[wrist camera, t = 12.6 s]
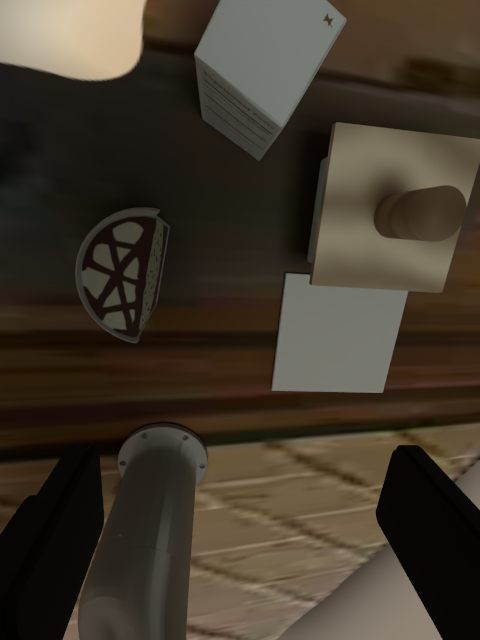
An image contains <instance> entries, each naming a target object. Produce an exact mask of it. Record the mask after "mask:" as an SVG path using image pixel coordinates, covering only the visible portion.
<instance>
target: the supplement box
mask: <svg viewBox="0 0 480 640" xmlns="http://www.w3.org/2000/svg"><path fill="white" fill-rule="evenodd" d="M345 23H346V18H345V17H344V16H343V15H342V14H340V13H339V12H338V11H337V10H336V9H335V8H334V7H333V6H332V5H331V4H330V3H329V2H328V1H327V0H220V1H219V3H218V5H217V8H216V10H215V12H214V14H213V16H212V18H211V20H210V22H209V24H208V26H207V28H206V30H205V32H204V34H203V36H202V38H201V40H200V43H199V45H198V47H197V49H196V51H195V53H194V56H195V63H196V72H197V81H198V89H199V98H200V106H201V114H202V119H203V120H204V121H205V122H207V123H208V124H210V125H211V126H212V127H214V128H215V129H216V130H218V131H219V132H220V133H222V134H223V135H225V136H226V137H227V138H228V139H230V140H231V141H233V142H234V143H235V144H237V145H238V146H239V147H241V148H242V149H243V150H245V151H246V152H247V153H249V154H250V155H251V156H253V157H254V158H255V159H257V160H258V161H260V160H261V158H262V157H263V156H264V154H265V153H266V151H267V150H268V149H269V147H270V146H271V145H272V143H273V142H274V141H275V139H276V138H277V137H278V135H279V134H280V133H281V131H282V129H283V128H284V126H285V125H286V123H287V121H288V120H289V118H290V116H291V115H292V113H293V112H294V110H295V108H296V107H297V105H298V103H299V102H300V100H301V98H302V96H303V95H304V93H305V91H306V90H307V88H308V86H309V85H310V83H311V81H312V80H313V78H314V76H315V74H316V73H317V71H318V69H319V67H320V66H321V64H322V62H323V61H324V59H325V57H326V55H327V54H328V52H329V50H330V49H331V47H332V45H333V43H334V42H335V40H336V38H337V37H338V35H339V33H340V32H341V30H342V28H343V27H344V25H345Z"/></svg>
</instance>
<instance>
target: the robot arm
mask: <svg viewBox="0 0 480 640" xmlns="http://www.w3.org/2000/svg"><path fill="white" fill-rule="evenodd" d="M117 464H118V470H119V474H120V476H121V478H122V480H121V483H120V486H119V489H118V491H117V494H116V497H115V500H114V503H113V505H112V508H111V511H110V514H109V517H108V519H107V522H106V525H105V528H104V531H103V533H102V536H101V539H100V542H99V545H98V547H97V550H96V553H95V556H94V559H93V561H92V564H91V567H90V570H89V573H88V575H87V578H86V581H85V584H84V587H83V590H82V593H81V597H80V602H79V608H78V631H79V639H80V640H186V628H187V608H188V591H189V576H190V563H191V547H192V532H193V516H194V501H195V487H196V486H197V485H198V484H199V483H200V482H201V481H202V479H203V478H204V476H205V474H206V471H207V466H208V454H207V449H206V447H205V445H204V443H203V442H202V440H201V439H200V438H199V437H198V436H197V435H196V434H195V433H194V432H192V431H190V430H189V429H187V428H184V427H182V426H179V425H174V424H166V423H160V424H152V425H149V426H145V427H143V428H141V429H139V430H137V431H135V432H134V433H132V434H131V435H130V436H129V437H128V438H127V439H126V440H125V442H124V444H123V445H122V447H121V450H120V452H119V455H118V460H117ZM376 518H377V521H378V524H379V526H380V527H381V529H382V531H383V533H384V535H385V536H386V538H387V540H388V542H389V544H390V545H391V547H392V549H393V551H394V553H395V554H396V556H397V558H398V560H399V562H400V563H401V565H402V567H403V569H404V571H405V572H406V574H407V576H408V578H409V580H410V581H411V583H412V585H413V586H414V589H415V590H416V592H417V594H418V596H419V598H420V599H421V601H422V603H423V605H424V607H425V608H426V610H427V612H428V614H429V616H430V617H431V619H432V621H433V623H434V625H435V626H436V628H437V630H438V632H439V634H440V635H441V637H442V639H443V640H480V510H479V509H478V508H477V507H476V506H475V505H474V504H473V503H472V502H471V500H470V499H469V498H468V497H467V496H466V495H465V494H464V493H463V492H462V491H461V490H460V489H459V488H458V487H457V485H456V484H455V483H454V482H453V481H452V480H451V479H450V478H449V477H448V476H447V475H446V474H445V473H444V472H443V470H442V469H441V468H440V467H439V466H438V465H437V464H436V463H435V462H434V461H433V460H432V459H431V458H430V457H429V456H428V454H427V453H426V452H425V451H424V450H423V449H422V448H421V447H419V446H417V445H399V446H398V447H397V449H396V450H394V451H393V453H392V456H391V459H390V463H389V466H388V470H387V473H386V477H385V481H384V484H383V488H382V491H381V495H380V498H379V502H378V505H377V509H376ZM103 524H104V508H103V496H102V483H101V470H100V457H99V451H98V450H93V446H92V445H91V444H71V445H70V446H69V447H68V448H67V449H66V451H65V452H64V454H63V456H62V457H61V459H60V460H59V462H58V463H57V465H56V466H55V468H54V469H53V471H52V472H51V474H50V476H49V477H48V479H47V480H46V482H45V483H44V485H43V486H42V488H41V489H40V491H39V492H38V494H37V495H33V496H29V497H28V498H26V499H25V500H24V501H23V503H22V504H21V505H20V507H19V508H18V510H17V511H16V512H15V514H14V515H13V517H12V518H11V520H10V521H9V523H8V524H7V526H6V527H5V528H4V530H3V531H2V533H1V534H0V640H62V639H63V637H64V634H65V631H66V628H67V626H68V623H69V620H70V617H71V615H72V612H73V609H74V606H75V604H76V601H77V598H78V595H79V593H80V590H81V587H82V584H83V581H84V579H85V576H86V573H87V570H88V568H89V565H90V562H91V559H92V557H93V554H94V551H95V548H96V546H97V543H98V540H99V537H100V535H101V532H102V528H103Z"/></svg>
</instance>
